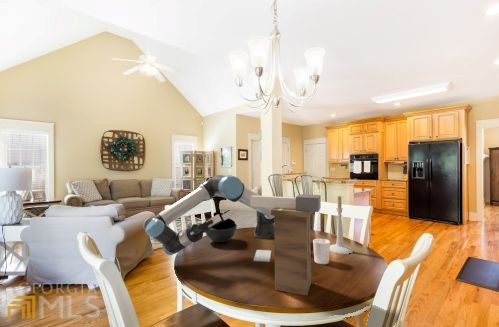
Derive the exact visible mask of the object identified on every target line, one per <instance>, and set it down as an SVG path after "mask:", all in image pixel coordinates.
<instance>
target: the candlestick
mask: <svg viewBox="0 0 499 327" xmlns="http://www.w3.org/2000/svg"><path fill="white" fill-rule="evenodd" d="M343 210H344V208H342V196H341V195H337V207H336V212H337V226H336V227H337V228H336V243H335V244H330V253H332V252H333V253H332V254H336V253H337V254H336V255H350V254H349V253H351V254H353V252H354V251H353V249H352V248H351V247H349V246H348V245H347V244H346V245H345V244H344V235H343V232H344V231H343V217H342V212H343Z"/></svg>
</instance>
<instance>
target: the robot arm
mask: <svg viewBox="0 0 499 327" xmlns="http://www.w3.org/2000/svg"><path fill="white" fill-rule="evenodd" d="M253 195H255V196H261V195H259V193H256V192H255V191H252V190H251V189H249V188H247V187H246V186H245V184H244V183H243V182H242V180H241V179H240V178H239V177H237V176H234V175H222V174H221V175H219V174H217V175H215V176H212V177H210V178H209V179H207V180H205V181H204V182H202V183H201V184H199V185H198V188H196V189H195V190H193V191H192V192H190V193H188V194H187V195H185V196H184V197H183V198H181V199H179V200H177V201H176V202H174V203H173V204H171V205H170V206H168V207H166V208H165V209H163V210H162V211H160V212H159V213H157V214H156V215H154V216H150V217H147V218H146V219H144V221H143V224H142V227H143V230H144V231H145V233H146V234H147V235H148V236H149V237H151V238H152V239H154V240H156V241H157V242H158V243H160V244H161V245H162V250H163V252H164V253H165V254H166V255H167V256H173V255H176V254H178V253H180V252H181V251H183V250H184V249H186V248H188V247H192V246H193V245H192V244H196V243H197V242H198V241H201V240H202V239H203V236H204V233H205V232H207V231H208V230H209V229H211V228H212V227H213V226H215V225H217V224H219V223H221V222H223V221H225V220H226V219H228V218H229V219H231V218H232V217H234V216H235V215H237V213H236V212H235V209H234V208H231V209H229V210H230V211H228V210H227V211H228V212H226V211H225V212H226V213H225V214H221V215H222V216H219V214H218V215H216V216H214V215H213V216H212V217H210V218H208V219H209V220H207V219H206V220H207V221H206V220H205V221H206V223H205V221H204V222H203V223H200V224H196V223H193V224H191V225H190V226H188V227H186V228H184V229H182V230H181V231H180V232H177V231H175V230H173V229H172V228H171V227H170V226H169V225H171V224H172V223H173V222H175V221H176V220H177V219H179V218H181V217H182V216H184V215H186V213H188V212H189V211H191V210H193V209H194V208H195V207H197V206H199V205H200V204H201V203H202V202H204V201H206V200H207V201H208V200H210V199H212V198H214V197H220V198H221V197H222V198H224V199H226V200H229V201H230V202H233V203H236V202H238V203H241V204H243V205H245V206H247V207H248V208H250V209H253V210H254V211H256V226H255V229H254V232H253V236H254V237H255V238H258V239H263V240H264V239H267V240H268V239H275V235H274V215H271V210H272V209H273V208H272V207H257V206H250V196H253ZM205 234H206V233H205Z"/></svg>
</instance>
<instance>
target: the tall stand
mask: <svg viewBox="0 0 499 327" xmlns="http://www.w3.org/2000/svg"><path fill="white" fill-rule="evenodd" d="M313 213H314V212H309V211H296V209H287V208H273V209H272V210H271V215H274V235H275V237H274V289H275V291H281V292H286V293H291V294H297V295H303V296H308V295H309V291H310V288H311V284H312V257H311V256H312V254H311V253H312V251H311V250H312V249H311V248H312V244H311V243H312V242H311V239H312V238H311V237H312V236H311V234H312V233H311V216H312V214H313Z"/></svg>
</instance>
